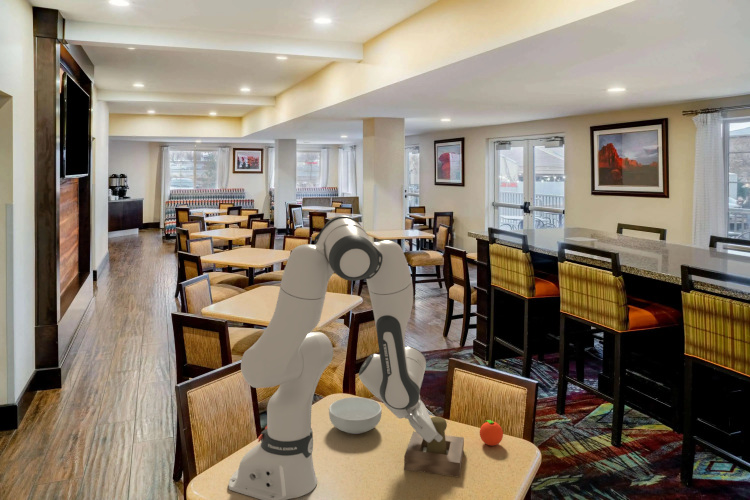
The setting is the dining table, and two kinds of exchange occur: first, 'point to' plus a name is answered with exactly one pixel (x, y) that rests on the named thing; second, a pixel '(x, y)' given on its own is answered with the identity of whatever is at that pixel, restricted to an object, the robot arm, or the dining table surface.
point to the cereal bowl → (355, 414)
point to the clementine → (491, 433)
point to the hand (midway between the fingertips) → (438, 434)
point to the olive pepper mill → (441, 427)
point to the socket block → (434, 456)
